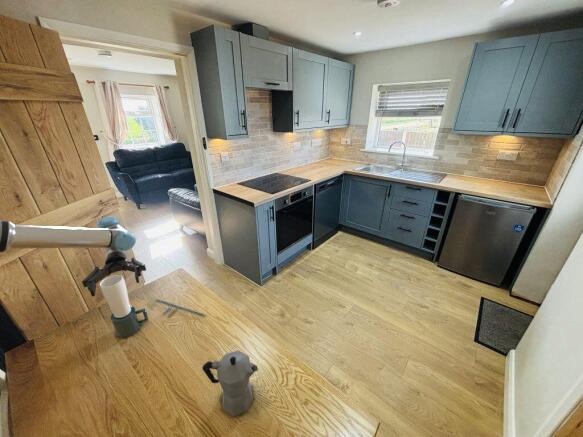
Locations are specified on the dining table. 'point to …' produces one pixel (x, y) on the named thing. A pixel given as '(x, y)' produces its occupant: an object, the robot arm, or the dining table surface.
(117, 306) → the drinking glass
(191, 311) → the grey pronged rod
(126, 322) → the mug
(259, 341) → the dining table surface
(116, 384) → the dining table surface
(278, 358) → the dining table surface
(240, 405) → the coffeepot
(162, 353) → the dining table surface
